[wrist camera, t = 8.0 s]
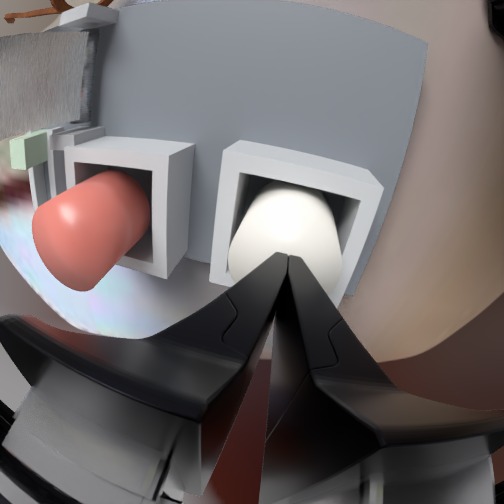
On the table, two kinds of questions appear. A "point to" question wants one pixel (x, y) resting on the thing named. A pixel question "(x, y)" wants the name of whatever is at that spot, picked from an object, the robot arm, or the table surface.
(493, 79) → the table surface
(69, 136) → the panel
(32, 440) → the robot arm
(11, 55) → the grey rectangular slab
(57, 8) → the glasses
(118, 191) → the button red
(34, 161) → the slider knob
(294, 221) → the button white
